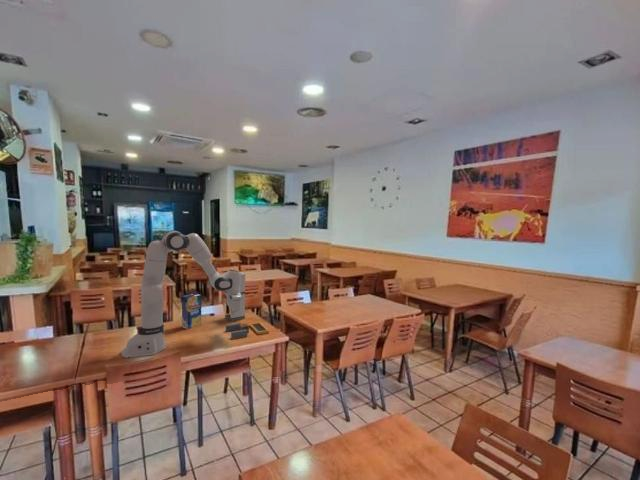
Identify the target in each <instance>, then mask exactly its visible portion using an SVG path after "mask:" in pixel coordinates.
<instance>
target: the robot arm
mask: <svg viewBox="0 0 640 480" xmlns="http://www.w3.org/2000/svg"><path fill="white" fill-rule="evenodd" d="M181 250H186V251H187V252H188V253H189V256H191V258H192V259H193V261H195V262H196V264H198V265H199V266H200V267H201V268H202V270H203V271H204V273H205V274H206V276H207V280H208V284H209V286H210V287H211V288H214V289H215V290H217V291H219V292H222V291H223V292H224V291H225V290H227V294H226V295H225V296H226V305H227V306H228V307H229V311H231V315H234V312H237V311H239V310H240V304H241V300H240V299H242V296H241V294H240V284H241V275H240V272H241V271H238V270H234V269H229V270H228V271H226V272H225V273H220V272H218V271H217V270H216V268H215V267H214V265H213V264H212V262H211V256H212V253H211V251H210V248H209V247H208V246H207V244H206V242H205V241H204V240H203V239H202V237H200V236H199V234H197V233H195V232H192V233H188V234H186V235H185V234H183V233H182V232H180V231H178V230H169V231H167V232H165V233H164V235H162V237H161V238H160V239H159V240H153V241H150V243H149V244H148V247H147V249H146V254H145V260H144V267H143V274H142V279H141V287H140V303H141V304H140V313H141V316H140V317H141V318H140V321H141V323H140V324H141V325H136V330H137V331H136V334H134V335H133V336H131V338H129V339H128V341H127V343H126V345H125V346H126V347H124V348H123V349H122V350H121V353H120V354H121V357H122V356H123V358H124V357H125V359H126V358H127V359H128V357H129V358H137V357H146V356H153V355H157V353H159V352H161V351H163V350H165V349H166V347H167V345H166V342H165V337H164V333H165V326H164V322H163V321H164V315H163V312H164V311H163V310H164V292H163V286H164V285H163V284H164V279H165V275H166V268H167V261H168V253H169V252H170V251H181Z"/></svg>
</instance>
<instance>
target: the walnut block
mask: <svg viewBox="0 0 640 480" xmlns="http://www.w3.org/2000/svg"><path fill="white" fill-rule="evenodd" d="M240 330H247V334H249V333H250V327H249V325H248V323H242V324H241V325H239V330H238V331H240Z"/></svg>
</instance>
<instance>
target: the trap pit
mask: <svg viewBox="0 0 640 480" xmlns="http://www.w3.org/2000/svg"><path fill="white" fill-rule="evenodd" d="M249 329H251V330H252V331H253V333H255V334H256V335H257V336H261V335H267V334H269V333H270V329H268V328H267V327H266V326H265V325H264V324H263V323H262V322H260V321H258V322H252V323H249Z"/></svg>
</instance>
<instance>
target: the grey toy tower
mask: <svg viewBox="0 0 640 480" xmlns="http://www.w3.org/2000/svg"><path fill="white" fill-rule="evenodd" d="M239 272H240V275H241V284H240V294H241V296H242V299H240V300H241V304H240V310H239V311H237V312H234V315H231V311H230V310H229V311H230V312H229V313H228V314H225V315H224V318H226V319H227V320H228V319H229V320H228V321H230V322H234V321H238V320H245V317H246V273H244V272H241V271H239ZM224 291H225V293H224V294H225V296H226V294H227V290H224Z"/></svg>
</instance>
